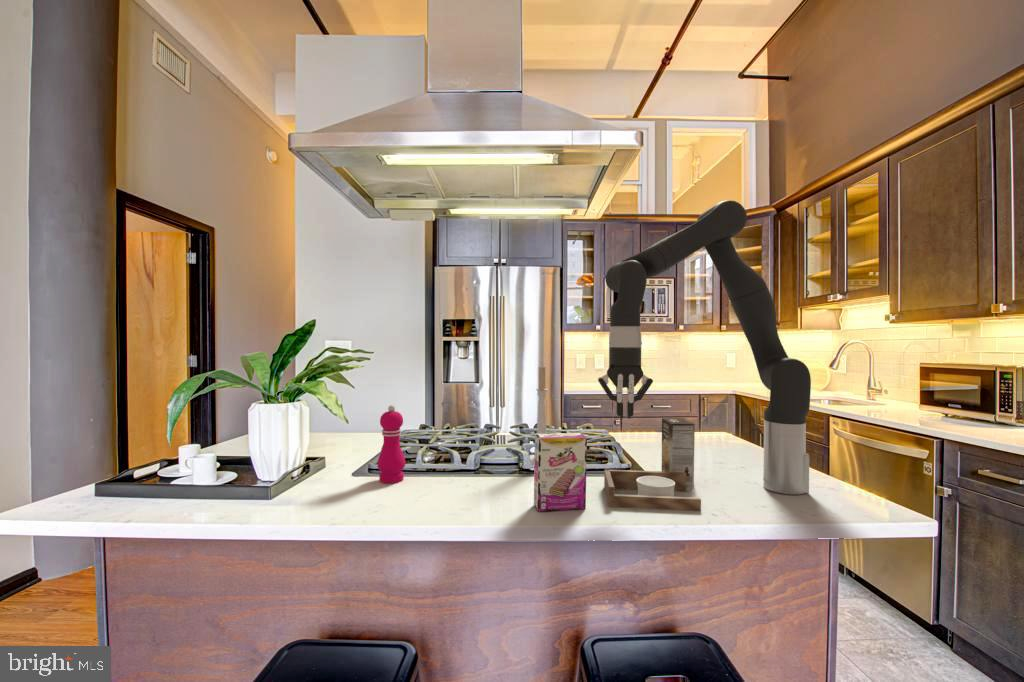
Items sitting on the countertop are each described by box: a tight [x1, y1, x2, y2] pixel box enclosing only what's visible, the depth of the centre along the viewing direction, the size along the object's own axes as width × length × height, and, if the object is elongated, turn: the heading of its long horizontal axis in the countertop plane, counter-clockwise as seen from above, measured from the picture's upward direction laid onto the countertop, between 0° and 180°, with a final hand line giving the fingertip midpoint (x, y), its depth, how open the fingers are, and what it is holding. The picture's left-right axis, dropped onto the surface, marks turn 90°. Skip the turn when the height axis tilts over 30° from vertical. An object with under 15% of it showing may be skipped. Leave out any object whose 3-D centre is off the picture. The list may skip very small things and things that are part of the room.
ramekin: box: [636, 476, 675, 497], centre depth 115 cm, size 9×9×4 cm
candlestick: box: [519, 366, 549, 468], centre depth 143 cm, size 13×13×30 cm
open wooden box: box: [603, 469, 702, 511], centre depth 115 cm, size 20×14×4 cm
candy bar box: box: [533, 432, 588, 512], centre depth 108 cm, size 11×5×16 cm, turn 100°
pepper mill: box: [377, 404, 406, 484], centre depth 128 cm, size 7×7×20 cm
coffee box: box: [661, 417, 696, 486], centre depth 130 cm, size 9×6×16 cm
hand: (624, 417), depth 115 cm, fingers closed
